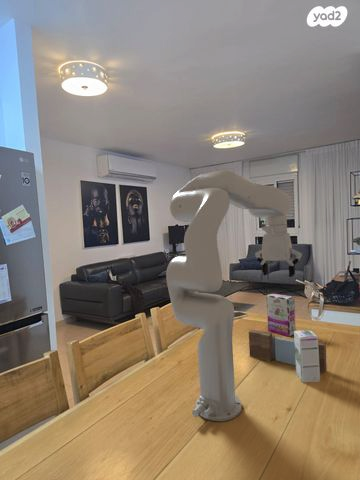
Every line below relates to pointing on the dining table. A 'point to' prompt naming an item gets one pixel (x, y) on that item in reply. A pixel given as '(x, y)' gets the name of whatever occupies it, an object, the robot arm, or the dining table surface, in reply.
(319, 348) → the door frame
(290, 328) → the candy bar box
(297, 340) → the syrup box
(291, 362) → the door
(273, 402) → the dining table surface
